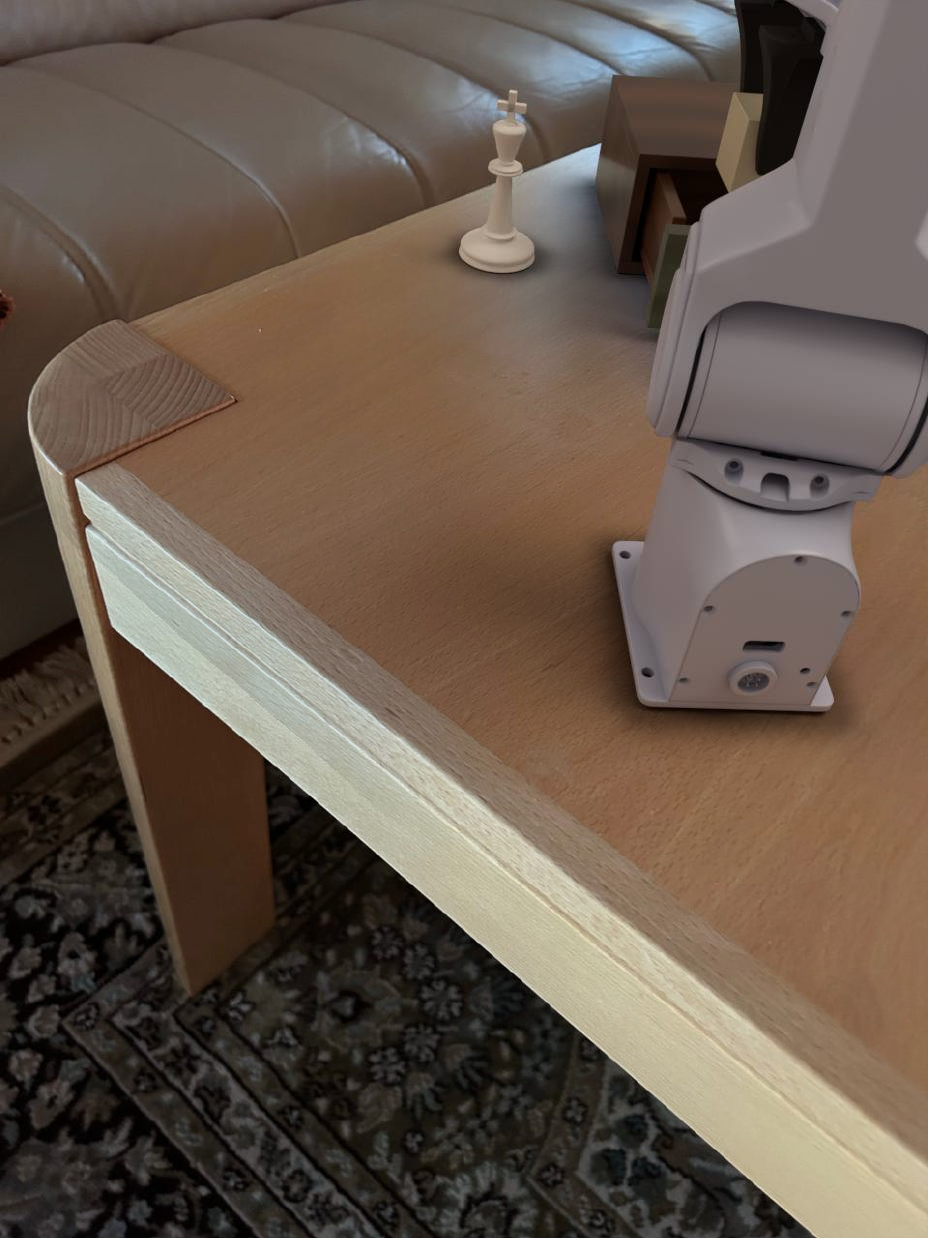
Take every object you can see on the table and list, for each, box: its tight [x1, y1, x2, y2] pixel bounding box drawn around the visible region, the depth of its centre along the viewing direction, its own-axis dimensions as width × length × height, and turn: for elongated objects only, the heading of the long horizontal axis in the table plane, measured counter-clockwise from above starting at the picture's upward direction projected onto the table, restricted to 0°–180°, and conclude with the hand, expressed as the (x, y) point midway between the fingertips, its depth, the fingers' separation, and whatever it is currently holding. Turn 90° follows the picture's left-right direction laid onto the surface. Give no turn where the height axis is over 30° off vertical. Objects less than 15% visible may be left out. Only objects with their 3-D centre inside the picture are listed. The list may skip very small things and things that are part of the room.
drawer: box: [636, 168, 729, 330], centre depth 60 cm, size 17×11×6 cm
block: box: [716, 92, 763, 193], centre depth 57 cm, size 4×4×4 cm
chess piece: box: [458, 89, 536, 274], centre depth 63 cm, size 5×5×10 cm
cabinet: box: [594, 74, 740, 275], centre depth 68 cm, size 13×13×8 cm
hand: (764, 156), depth 57 cm, fingers closed on block, 4 cm apart
